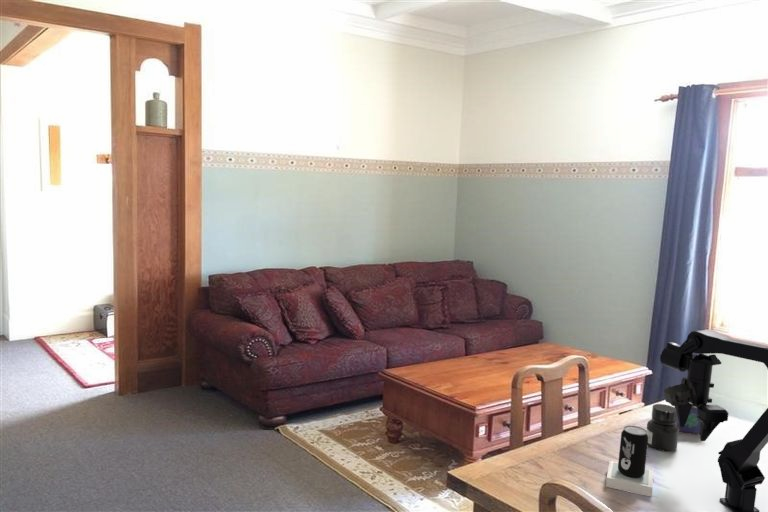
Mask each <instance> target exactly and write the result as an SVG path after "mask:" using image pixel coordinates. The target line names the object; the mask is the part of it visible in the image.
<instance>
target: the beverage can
mask: <svg viewBox="0 0 768 512" xmlns="http://www.w3.org/2000/svg"><path fill="white" fill-rule="evenodd" d="M648 447H649V446H648V435H647V431H646V428H643V427H641V426H637V425H631V424H629V425H625V426H623V430H622V431H621V435H620V442H619V453H618V470H619V471H620V473H621V474H623V475H625V476H627V477H630V478H640V477H642V476H643V475H644V473H645V468H646V462H647V454H648V453H647V452H648Z"/></svg>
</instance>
